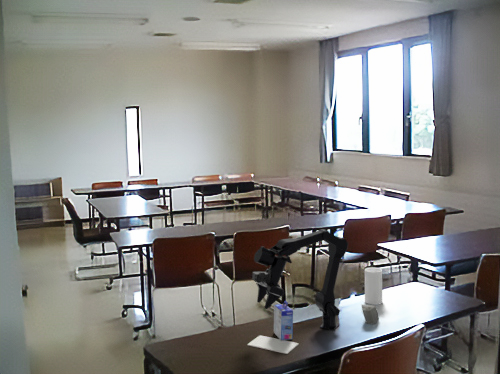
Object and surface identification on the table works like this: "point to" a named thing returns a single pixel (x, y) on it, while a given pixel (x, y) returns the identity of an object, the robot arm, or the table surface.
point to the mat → (273, 344)
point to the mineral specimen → (370, 314)
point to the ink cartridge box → (283, 321)
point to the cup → (373, 285)
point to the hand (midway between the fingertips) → (261, 305)
